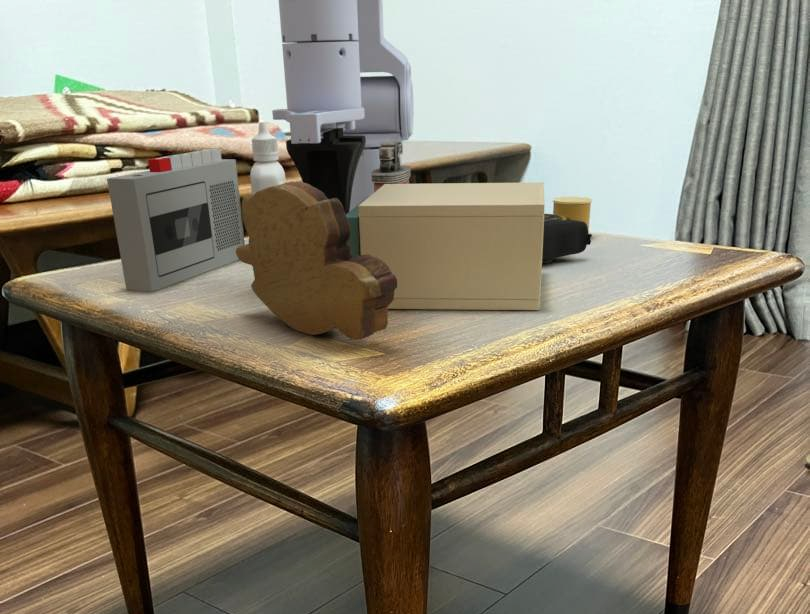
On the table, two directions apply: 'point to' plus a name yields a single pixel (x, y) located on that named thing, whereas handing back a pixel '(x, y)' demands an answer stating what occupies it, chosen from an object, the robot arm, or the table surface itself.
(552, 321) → the table surface
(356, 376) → the table surface
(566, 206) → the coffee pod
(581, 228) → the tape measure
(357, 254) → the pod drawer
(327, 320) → the wooden carving
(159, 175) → the cassette player
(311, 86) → the robot arm
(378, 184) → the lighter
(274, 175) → the eye dropper bottle
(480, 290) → the lidded cardboard box
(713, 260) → the table surface
